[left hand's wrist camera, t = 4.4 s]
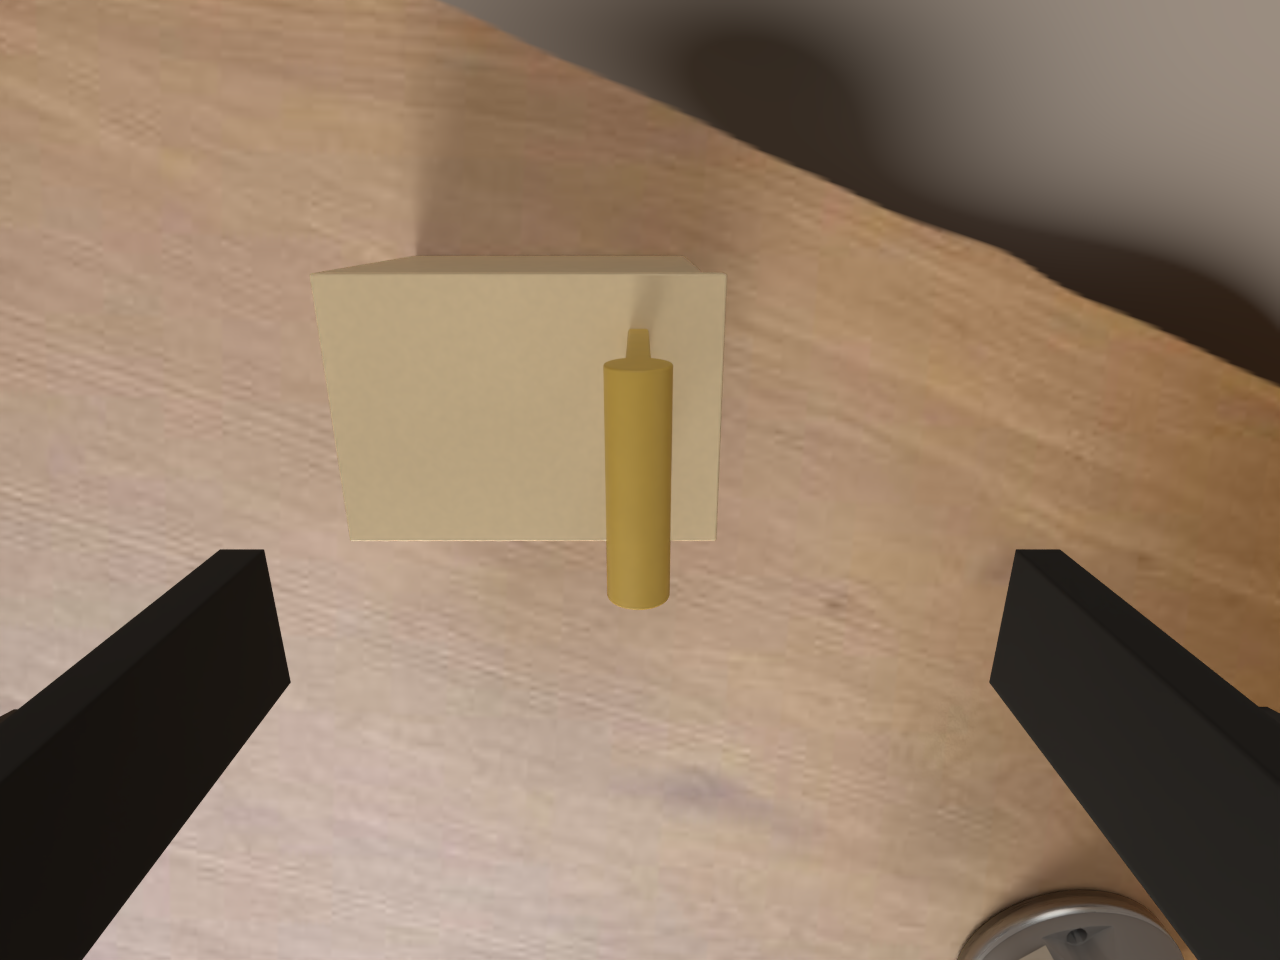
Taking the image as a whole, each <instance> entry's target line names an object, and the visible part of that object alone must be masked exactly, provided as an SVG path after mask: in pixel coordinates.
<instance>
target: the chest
mask: <svg viewBox="0 0 1280 960" xmlns="http://www.w3.org/2000/svg"><path fill="white" fill-rule="evenodd" d="M323 272H702V271H700V270H699V269H698V268H697V267H696V266H695V265H693V264H692V263H691V262H690V261H689V260H688V259H687V258H685V257H684V256H411V257H405V258H399V259H393V260H387V261H382V262H376V263H370V264H364V265H358V266H352V267H346V268H341V269H335V270H329V271H323Z"/></svg>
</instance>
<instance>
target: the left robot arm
mask: <svg viewBox="0 0 1280 960" xmlns="http://www.w3.org/2000/svg"><path fill="white" fill-rule="evenodd" d="M290 683H291V682H290V677H289V672H288V667H287V662H286V657H285V652H284V647H283V642H282V637H281V632H280V627H279V622H278V617H277V612H276V607H275V602H274V597H273V592H272V587H271V582H270V577H269V572H268V567H267V562H266V557H265V552H264V550H219V551H218V552H216V553H215V554H214V555H213V556H211V557H210V558H209V559H208V560H206V561H205V562H204V563H203V564H201V565H200V566H199V567H197V568H196V569H195V570H194V571H192V572H191V573H190V574H189V575H187V576H186V577H185V578H184V579H182V580H181V581H180V582H178V583H177V584H176V585H175V586H173V587H172V588H171V589H170V590H168V591H167V592H166V593H165V594H163V595H162V596H161V597H160V598H158V599H157V600H156V601H154V602H153V603H152V604H151V605H149V606H148V607H147V608H146V609H144V610H143V611H142V612H141V613H139V614H138V615H137V616H136V617H134V618H133V619H132V620H130V621H129V622H128V623H127V624H125V625H124V626H123V627H122V628H120V629H119V630H118V631H117V632H115V633H114V634H113V635H111V636H110V637H109V638H108V639H106V640H105V641H104V642H103V643H101V644H100V645H99V646H98V647H96V648H95V649H94V650H93V651H91V652H90V653H89V654H87V655H86V656H85V657H84V658H82V659H81V660H80V661H79V662H77V663H76V664H75V665H74V666H72V667H71V668H70V669H69V670H67V671H66V672H65V673H63V674H62V675H61V676H60V677H58V678H57V679H56V680H55V681H53V682H52V683H51V684H50V685H48V686H47V687H46V688H45V689H43V690H42V691H41V692H39V693H38V694H37V695H36V696H34V697H33V698H32V699H31V700H29V701H28V702H27V703H26V704H24V705H23V706H22V707H20V708H19V709H14V710H12V711H10V712H8V713H6V714H4V715H2V716H0V960H82V959H83V958H84V957H85V955H86V954H87V953H88V951H89V950H90V949H91V947H92V946H93V945H94V943H95V942H96V941H97V939H98V938H99V937H100V935H101V934H102V933H103V931H104V930H105V929H106V927H107V926H108V925H109V923H110V922H111V921H112V919H113V918H114V917H115V916H116V914H117V913H118V912H119V910H120V909H121V908H122V906H123V905H124V904H125V902H126V901H127V900H128V898H129V897H130V896H131V894H132V893H133V892H134V890H135V889H136V888H137V886H138V885H139V884H140V882H141V881H142V880H143V878H144V877H145V876H146V874H147V873H148V872H149V870H150V869H151V868H152V866H153V865H154V864H155V862H156V861H157V860H158V858H159V857H160V856H161V854H162V853H163V852H164V850H165V849H166V848H167V846H168V845H169V844H170V842H171V841H172V840H173V838H174V837H175V836H176V834H177V833H178V832H179V830H180V829H181V828H182V826H183V825H184V824H185V822H186V821H187V820H188V818H189V817H190V816H191V814H192V813H193V812H194V810H195V809H196V808H197V806H198V805H199V804H200V802H201V801H202V800H203V798H204V797H205V796H206V794H207V793H208V792H209V790H210V789H211V788H212V786H213V785H214V784H215V782H216V781H217V780H218V778H219V777H220V776H221V774H222V773H223V772H224V770H225V769H226V768H227V766H228V765H229V764H230V762H231V761H232V760H233V758H234V757H235V756H236V754H237V753H238V752H239V750H240V749H241V748H242V746H243V745H244V744H245V742H246V741H247V740H248V738H249V737H250V736H251V734H252V733H253V732H254V730H255V729H256V728H257V726H258V725H259V724H260V722H261V721H262V720H263V719H264V717H265V716H266V715H267V713H268V712H269V711H270V709H271V708H272V707H273V705H274V704H275V703H276V701H277V700H278V699H279V697H280V696H281V695H282V693H283V692H284V691H285V689H286V688H287V687H288V685H289V684H290ZM989 683H990V684H991V685H992V687H993V688H994V689H995V691H996V692H997V693H998V695H999V696H1000V697H1001V699H1002V700H1003V701H1004V703H1005V704H1006V705H1007V707H1008V708H1009V709H1010V711H1011V712H1012V713H1013V715H1014V716H1015V717H1016V719H1017V720H1018V721H1019V723H1020V724H1021V725H1022V726H1023V728H1024V729H1025V730H1026V732H1027V733H1028V734H1029V736H1030V737H1031V738H1032V740H1033V741H1034V742H1035V744H1036V745H1037V746H1038V748H1039V749H1040V750H1041V752H1042V753H1043V754H1044V756H1045V757H1046V758H1047V760H1048V761H1049V762H1050V764H1051V765H1052V766H1053V768H1054V769H1055V770H1056V772H1057V773H1058V774H1059V776H1060V777H1061V778H1062V780H1063V781H1064V782H1065V784H1066V785H1067V786H1068V788H1069V789H1070V790H1071V792H1072V793H1073V794H1074V796H1075V797H1076V798H1077V800H1078V801H1079V802H1080V804H1081V805H1082V806H1083V808H1084V809H1085V810H1086V812H1087V813H1088V814H1089V816H1090V817H1091V818H1092V820H1093V821H1094V822H1095V824H1096V825H1097V826H1098V828H1099V829H1100V830H1101V832H1102V833H1103V834H1104V836H1105V837H1106V838H1107V840H1108V841H1109V842H1110V844H1111V845H1112V846H1113V848H1114V849H1115V850H1116V852H1117V853H1118V854H1119V856H1120V857H1121V858H1122V860H1123V861H1124V862H1125V864H1126V865H1127V866H1128V868H1129V869H1130V870H1131V872H1132V873H1133V874H1134V876H1135V877H1136V878H1137V880H1138V881H1139V882H1140V884H1141V885H1142V886H1143V888H1144V889H1145V890H1146V892H1147V893H1148V894H1149V896H1150V897H1151V898H1152V900H1153V901H1154V902H1155V904H1156V905H1157V906H1158V908H1159V909H1160V910H1161V912H1162V913H1163V914H1164V916H1165V917H1166V918H1167V919H1168V921H1169V922H1170V923H1171V925H1172V926H1173V927H1174V929H1175V930H1176V931H1177V933H1178V934H1179V935H1180V937H1181V938H1182V939H1183V941H1184V942H1185V943H1186V945H1187V946H1188V947H1189V949H1190V950H1191V951H1192V953H1193V954H1194V955H1195V957H1196V958H1197V959H1198V960H1280V713H1278V712H1276V711H1274V710H1272V709H1270V708H1268V707H1258V706H1257V705H1256V704H1254V703H1253V702H1252V701H1251V700H1249V699H1248V698H1247V697H1246V696H1244V695H1243V694H1242V693H1241V692H1239V691H1238V690H1237V689H1235V688H1234V687H1233V686H1232V685H1230V684H1229V683H1228V682H1227V681H1225V680H1224V679H1223V678H1222V677H1220V676H1219V675H1218V674H1217V673H1215V672H1214V671H1213V670H1211V669H1210V668H1209V667H1208V666H1206V665H1205V664H1204V663H1203V662H1201V661H1200V660H1199V659H1198V658H1196V657H1195V656H1194V655H1193V654H1191V653H1190V652H1189V651H1187V650H1186V649H1185V648H1184V647H1182V646H1181V645H1180V644H1179V643H1177V642H1176V641H1175V640H1174V639H1172V638H1171V637H1170V636H1169V635H1167V634H1166V633H1165V632H1163V631H1162V630H1161V629H1160V628H1158V627H1157V626H1156V625H1155V624H1153V623H1152V622H1151V621H1150V620H1148V619H1147V618H1146V617H1144V616H1143V615H1142V614H1141V613H1139V612H1138V611H1137V610H1136V609H1134V608H1133V607H1132V606H1131V605H1129V604H1128V603H1127V602H1126V601H1124V600H1123V599H1122V598H1120V597H1119V596H1118V595H1117V594H1115V593H1114V592H1113V591H1112V590H1110V589H1109V588H1108V587H1107V586H1105V585H1104V584H1103V583H1102V582H1100V581H1099V580H1098V579H1096V578H1095V577H1094V576H1093V575H1091V574H1090V573H1089V572H1088V571H1086V570H1085V569H1084V568H1083V567H1081V566H1080V565H1079V564H1077V563H1076V562H1075V561H1074V560H1072V559H1071V558H1070V557H1069V556H1067V555H1066V554H1065V553H1064V552H1062V551H1061V550H1016V552H1015V557H1014V562H1013V567H1012V572H1011V577H1010V582H1009V587H1008V592H1007V597H1006V602H1005V607H1004V612H1003V617H1002V622H1001V627H1000V632H999V637H998V642H997V647H996V652H995V657H994V662H993V667H992V672H991V677H990V682H989ZM958 960H1184V958H1183V956H1182V954H1181V951H1180V949H1179V948H1178V946H1177V944H1176V943H1175V941H1174V940H1173V939H1172V937H1171V936H1170V935H1169V933H1168V932H1167V931H1166V929H1165V928H1164V927H1163V925H1162V924H1161V923H1160V921H1159V920H1158V919H1157V917H1156V916H1155V915H1154V914H1153V913H1152V912H1151V911H1149V910H1148V909H1147V908H1146V907H1144V906H1143V905H1141V904H1139V903H1138V902H1136V901H1134V900H1131V899H1129V898H1127V897H1124V896H1121V895H1118V894H1114V893H1109V892H1103V891H1094V890H1070V891H1061V892H1055V893H1050V894H1045V895H1041V896H1038V897H1034V898H1031V899H1028V900H1026V901H1023V902H1020V903H1018V904H1016V905H1014V906H1012V907H1010V908H1008V909H1006V910H1004V911H1002V912H1001V913H999V914H997V915H996V916H994V917H993V918H991V919H990V920H989V921H987V922H986V923H985V924H984V925H983V926H982V927H980V928H979V929H978V930H977V931H976V932H975V933H974V934H973V935H972V937H971V938H970V939H969V940H968V942H967V943H966V945H965V946H964V948H963V949H962V951H961V953H960V955H959V957H958Z"/></svg>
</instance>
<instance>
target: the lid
mask: <svg viewBox="0 0 1280 960" xmlns="http://www.w3.org/2000/svg"><path fill="white" fill-rule="evenodd" d="M310 282H311V288H312V295H313V301H314V308H315V314H316V321H317V327H318V334H319V340H320V347H321V353H322V360H323V366H324V373H325V379H326V386H327V392H328V399H329V405H330V412H331V418H332V425H333V431H334V438H335V444H336V451H337V458H338V464H339V471H340V477H341V484H342V490H343V497H344V503H345V510H346V516H347V523H348V529H349V536H350V540H351V541H606V549H607V595H608V598H609V600H610V601H611V602H612V603H613V604H615V605H617V606H619V607H622V608H626V609H632V610H645V609H651V608H655V607H658V606H660V605H662V604H663V603H665V602H666V601H667V599H668V597H669V593H670V541H715V540H716V535H717V510H718V486H719V461H720V436H721V412H722V387H723V362H724V338H725V313H726V289H727V274H725V273H724V272H317V273H312V274H310Z"/></svg>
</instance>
